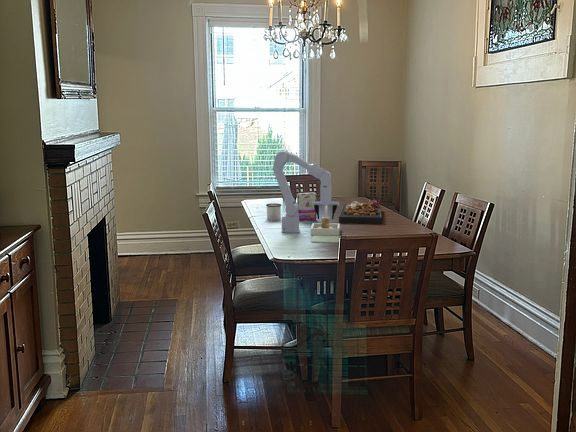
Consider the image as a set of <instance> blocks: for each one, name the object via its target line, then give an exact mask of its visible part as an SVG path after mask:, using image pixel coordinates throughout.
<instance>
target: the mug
mask: <svg viewBox="0 0 576 432" xmlns="http://www.w3.org/2000/svg"><path fill="white" fill-rule="evenodd" d="M265 206H266V220H269V221H279V220H282V214H281V212H282V211H281V210H282V209H281V207H282V206H283V205H282V203H276V202H275V203H267V204H265Z"/></svg>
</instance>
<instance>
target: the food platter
mask: <svg viewBox="0 0 576 432" xmlns="http://www.w3.org/2000/svg"><path fill="white" fill-rule="evenodd" d="M368 200H369V201H368V202H362V203H360V202H358V201H356V200H355V201H352V203H349V202H348V203H345V204H343V205H342V208H341V211H340V214H339V216H338V224H356V225H357V224H358V225H359V224H363V225H382V221H383V220H382V205H381V204H380V201H377V200H376V199H372V202H371V199H370V198H369V199H368ZM378 200H380V198H379V199H378Z"/></svg>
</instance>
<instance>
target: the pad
mask: <svg viewBox="0 0 576 432" xmlns="http://www.w3.org/2000/svg"><path fill="white" fill-rule="evenodd" d="M339 237H340V238H341V236H340V235H312V238H311V239H310V240H311V241H310V242H311V243H322V244H323V243H327V244H329V243H331V244H334V243H335V244H339V243H340V241H339Z"/></svg>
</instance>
